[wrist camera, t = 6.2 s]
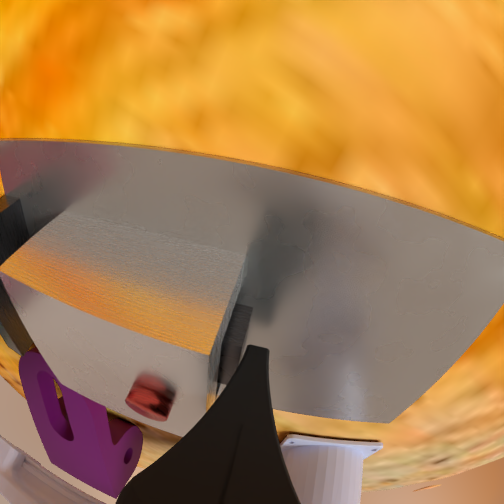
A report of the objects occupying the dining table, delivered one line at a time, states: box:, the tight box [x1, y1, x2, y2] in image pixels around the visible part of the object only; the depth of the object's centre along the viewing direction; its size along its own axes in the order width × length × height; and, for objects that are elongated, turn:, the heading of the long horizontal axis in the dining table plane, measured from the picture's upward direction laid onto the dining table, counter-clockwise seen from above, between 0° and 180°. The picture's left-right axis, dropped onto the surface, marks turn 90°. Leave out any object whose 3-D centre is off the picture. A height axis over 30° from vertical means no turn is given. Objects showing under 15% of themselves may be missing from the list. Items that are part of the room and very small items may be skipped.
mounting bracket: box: [19, 347, 143, 499], centre depth 24 cm, size 9×8×18 cm
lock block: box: [0, 211, 246, 437], centre depth 11 cm, size 8×8×5 cm
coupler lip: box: [0, 138, 504, 423], centre depth 11 cm, size 14×24×4 cm, turn 82°
